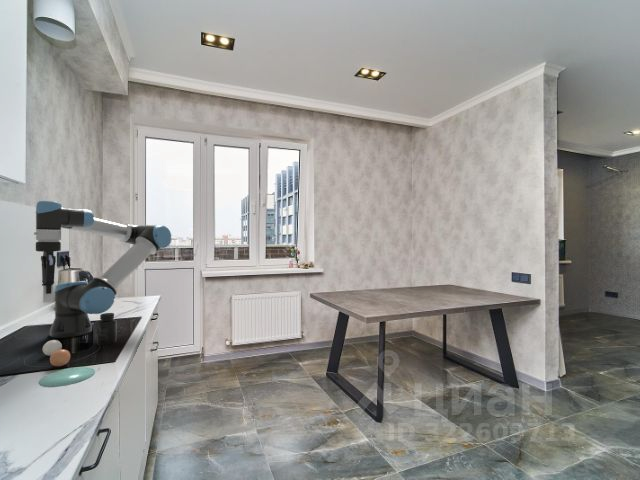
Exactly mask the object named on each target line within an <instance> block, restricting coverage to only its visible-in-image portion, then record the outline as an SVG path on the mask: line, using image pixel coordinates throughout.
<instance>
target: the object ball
mask: <svg viewBox="0 0 640 480" xmlns="http://www.w3.org/2000/svg"><path fill="white" fill-rule="evenodd" d="M70 360H71V353H70V351H69V350H67V349H63V348H62V349H60V350H57V351H55V352H54V353H53V354H52V355H51V356H49V361H50V364H51V365H52V366H54V367H63V366H64V365H66V364H68V362H69V361H70Z"/></svg>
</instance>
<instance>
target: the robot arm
mask: <svg viewBox="0 0 640 480" xmlns="http://www.w3.org/2000/svg"><path fill="white" fill-rule="evenodd" d="M35 207H36V208H35V224H36V225H35V226H36V227H35V231H36V232H34V233H33V235H35V240H36V242H35V251H36V252H39V253H40V252H43V254H42V255H41V256H40V261H41V277H42V278H41V286H42V303H52V302H53V301H55V302H54V304H55V305H54V310H55V311H54V315H55V316H54V320H53V323H52V325H51V327H50V330H49V337H51V338H56V339H59V338H61V339H62V338H63V339H64V338H73V337H79V336H83V335H86V334H89V333H91V332H92V330H93V325H92V322H91V320H90V317H89V315H97V314H98V315H99V314H100V315H101V314H104V313H106V312H107V311H108V310H110V309H111V308H112V306H113V305H114V303H115V299H116V295H117V293H118V291H117V289H118V288H119V287H120V286H121V285H122V284H123V283H124V282H125V281H126V280H127V278H129V277H130V276H131V275H132V274H133V273H134V271H135V270H136V269H138V268H139V267H140V265H141V264H142V263H144V261H145V260H147V258H148V257H150V255H156V253H158V252H159V250H160V249H165V248H167V247H169V246H170V244H171V242H172V233H171V231H170V228H169V227H167V226H165V225H162V224H151V225H150V224H140V225H139V224H129V223H123V224H121V223H117V222H113V221H108V220H104V219H101V218H97V217H95V214H94V213H93V211H92V210H89V209H84V208H70V207H67V208H66V207H63V206H62V203H61V202H59V201H54V200H53V201H51V200H39V201H37V203H36V206H35ZM62 229H67V230H72V231H73V230H74V231H76V232H77V231H78V232H83V233H88V234H93V235H95V236H96V235H98V236H102V237H107V238H112V239H116V240H119V241H120V242H121V243H127V244H131V245H132V246H131V247H130V248H129V249H128V250H126V251H125V252H124V253H123V255H122V256H121V257H120V258H119V259H118V260H116V261H115V262H114V263H113V264H112V265H111V266H110V267H109V268H108V269H107V270H106V271H105V272H104V273H102V275H101V276H97V277H93V278H92V279H91V280H90V281H89V282H88V281H87V280H81V281H80V280H79V281H73V282H72V281H71V282H63V283H61V282H60V283H57V285H56V286H55V291H54V290H53V289H54V284H55V272H56V271H55V269H56V262H57V258H56V257H57V256H55V254H54V253H55V252H61V251H62V243H61V242H60V241H61V240H62ZM54 294H55V300H54V299H53V298H54Z"/></svg>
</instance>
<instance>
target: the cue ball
mask: <svg viewBox="0 0 640 480" xmlns="http://www.w3.org/2000/svg"><path fill="white" fill-rule="evenodd" d="M60 349H63V346H62V343H61V342H60V341H59V340H57V339H52V340H48V341H47V342H46V343H44V344H43V346H42V352H43V354H45V356H49V357H51V355H52V354H53V353H54V352H55V351H57V350H60Z"/></svg>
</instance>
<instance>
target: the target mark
mask: <svg viewBox="0 0 640 480" xmlns="http://www.w3.org/2000/svg"><path fill="white" fill-rule="evenodd" d="M95 373H96V370H95V368H93V367H88V366H78V367H75V366H74V367H68V368H64V369H60V370H56V371H53V372H51V373H48V374H46V375H44V376H43V377H41V378H40V379H39V381H38V385H40V386H43V387H53V388H54V387H55V388H56V387H61V386H68V385H73V384H77V383H80V382H82V381H85V380H87V379H90V378H91V377H92V376H94V375H95Z"/></svg>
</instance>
